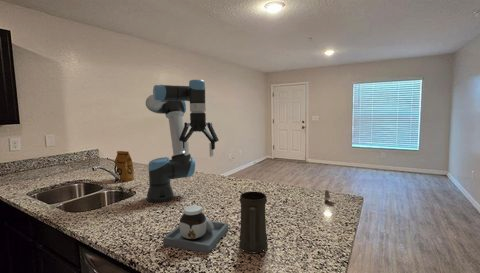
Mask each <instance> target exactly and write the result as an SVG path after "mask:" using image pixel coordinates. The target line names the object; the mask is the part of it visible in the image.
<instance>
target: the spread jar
mask: <svg viewBox="0 0 480 273" xmlns="http://www.w3.org/2000/svg"><path fill="white" fill-rule="evenodd" d="M212 221H213V220H211V219H210V218H209V217H208V216H206V215H205V213H203V212H202V206H200V205H195V204H194V205H187V206H186V207H184V208H183V214H182V215H181V216H180V219H179V225H180V234H181V236H182V237H183V238H184V239H186V240H188V241H196V240H199V239H201V238H202V237H203V236H204V234H205V233H206V231H208V232H212V231H213V230H214V225H213V223H212Z"/></svg>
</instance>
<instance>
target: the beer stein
mask: <svg viewBox="0 0 480 273" xmlns="http://www.w3.org/2000/svg"><path fill="white" fill-rule="evenodd" d="M239 202H240V230H239V231H240V232H239V242H238V246H239V247H238V248H239V249H240V248H241V249H242V250H241V249H240V250H241V251H243V250H244V251H246V252H245V253H247V252H260V251H263V250H265V249H266V248H267V247H268V246H269V243H268V236H267V219H266V204H267V203H268V199H267V195H266V194H265V193H264V192H261V191H245V192H243V193H241V194H240V197H239ZM267 249H268V248H267ZM267 249H266V250H267ZM266 250H265V251H266ZM244 251H243V252H244ZM263 252H264V251H263ZM260 253H261V252H260Z"/></svg>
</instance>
